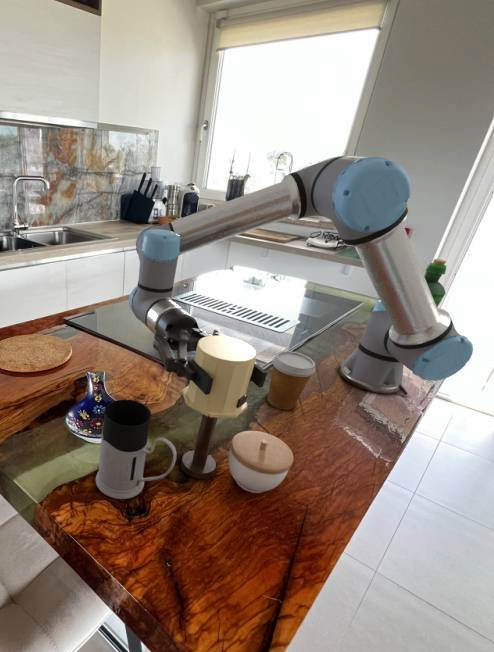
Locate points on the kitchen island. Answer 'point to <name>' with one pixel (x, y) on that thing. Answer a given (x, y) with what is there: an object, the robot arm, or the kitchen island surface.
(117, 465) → the glass holder
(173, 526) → the kitchen island surface
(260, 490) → the trinket box
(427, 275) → the bottle
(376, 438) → the kitchen island surface
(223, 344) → the hat
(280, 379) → the disposable coffee cup
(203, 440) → the stand
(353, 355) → the robot arm
